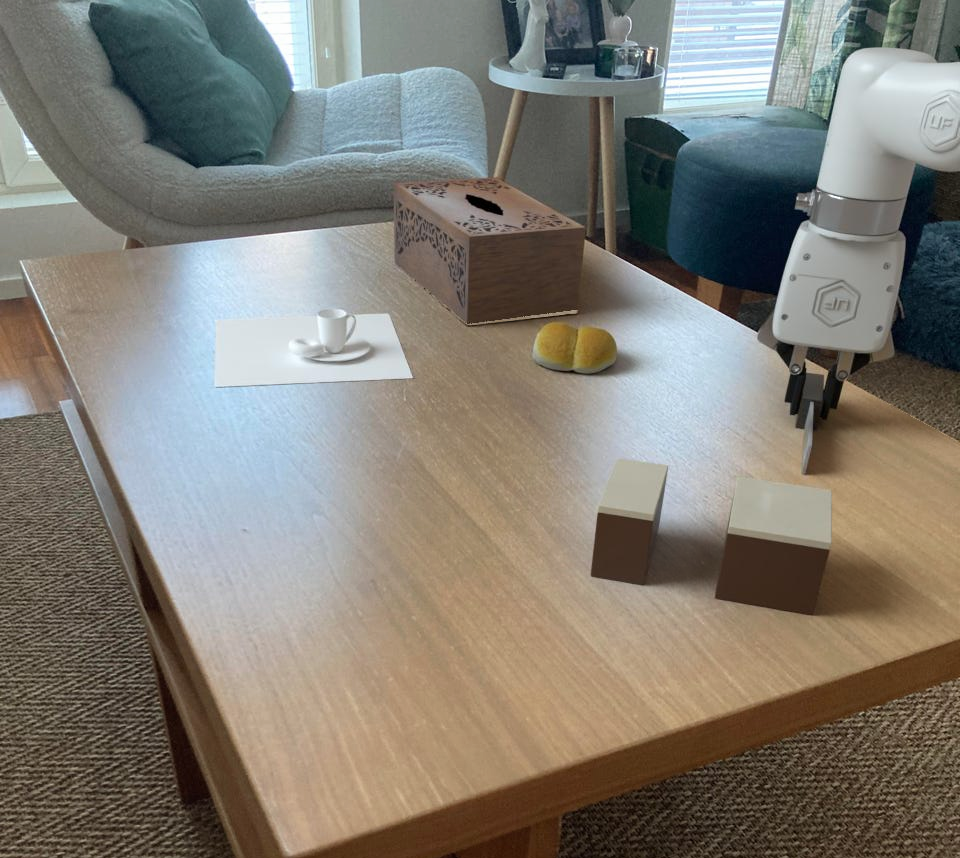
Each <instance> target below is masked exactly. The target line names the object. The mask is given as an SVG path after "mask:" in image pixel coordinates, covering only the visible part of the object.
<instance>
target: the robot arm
mask: <svg viewBox="0 0 960 858" xmlns="http://www.w3.org/2000/svg"><path fill="white" fill-rule="evenodd" d="M835 94H836V95H835V97H834V102H833V108H832V112H831V116H830V122H829V127H828V130H827V136H826V140H825V145H824V149H823V154H822V158H821V163H820V169H819V173H818V177H817V183H816V186H815V189H811V192H806V193H801V192H797V195H796V200H795V205H794V210H799V211H802V212H803V213H806V216H808V217H809V219H807V220H805V221H802V222H801V223H800V225H799V227H798V229H797V231H796V234H795V236H794V239H793V241H792V244H791V246H790V247H791V248H790V250H789V254H788V257H787V260H786V263H785V265H784V266H785V267H784V269H783V274H782V277H781V281H780V286H779V289H778V294H777V298H776V303H775V306H774V308H773V309H772V311H771V312H770V314H769V315H768V316H767V318H766V319H765V320H764V322H763V324H762V325H761V327H760V328H759V329H758V331H757V335H756V340H757V341H758V342H759V343H761V344H762V345H764V346H766V347H767V348H769V349H770V350H773V351H775V352H776V353H777V355H778V356H779V357H780V359H781V360H782V361H783V363H784V364H785V365H786V367H787V368H788V370H789V371H788V372H789V376H788V382H787V385H786V386H787V387H786V390H785V396H784V401H783V402H784V403H787V404H790V406H789V416H794V417H796V414H798V410H799V406H800V402H801V397H802V393H803V389H804V385H805V380H806V373H807V369H808V368H807V362H806V357H807V352H808V349H809V348H814V349H815V348H816V349H823V350H831V351H837V352H838V353H837V357H836V362H835V364H834V365H832V367H831V368H830V370H828V372H827V375H826V380H825V382H824V401H823V406H822V410H821V414H820V418H819V419H821V420H823V421H828V418H829V414H830V410H837V409H838V407H839V402H840V398H841V394H842V391H843V388H844V383H845V381H847V380H848V379H850V376H852V375H853V374H854V373H856V372H858V371H859V370H861V369H862V368H864V367H865V366H867V365H869V364H871V363H872V364H873V363H877V362H881V361H885V360H889V359H891V358H893V357H894V356H895V346H894V341H893V340H894V339H893V335H892V329H891V326H892V321H893V317H894V313H895V310H896V309H895V308H896V305H897V301H898V300H897V299H898V296H899V291H900V287H901V286H900V285H901V281H902V276H903V268H904V264H905V263H904V262H905V253H906V241H907V240H906V236H905V235H904V233H903V232H902V231H900V230H899V229H900V224H901V222H902V217H903V214H904V211H905V206H906V203H907V198H908V194H909V190H910V187H911V182H912V179H913V176H914V171H915V169H916V165H917V164H918V165H919V166H923V167H925V168H929V169H931V170H935V171H939V172H947V173H954V172H960V61H954V62H938V61H937V60H936V59H935V57H934V56H932V55H931V54H928V53H926V52H924V51H919V50H915V49H914V50H913V49H907V48H897V47H865V48H861V49H857V50H855V51H853V52H852V53H851V54H849V56H848V57H847V58H846V60H845V61H844V63H843V66H842V69H841V71H840V76H839V80H838V84H837V89H836V93H835Z"/></svg>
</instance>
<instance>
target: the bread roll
mask: <svg viewBox="0 0 960 858" xmlns="http://www.w3.org/2000/svg"><path fill="white" fill-rule="evenodd" d="M617 355H618V346H617V343H616V340H615V339H614V336H613V335H612V334H611V332H608V331H607V330H606V329H604V328H599V327H593V326H579V327H578V328H575V327H574V326H573V325H571V324H569V323H567V322H561V321H553V322H549V323H547V324H545V325H544V326H543V327H542V328H541V329H540V330H539V331H538V332H537V333H536V336H535V339H534V343H533V347H532V360H533V361H534V362H535V363H536V364H538V365H539V366H541V365H542V367H544V368H546V369H549V370H553V371H561V372H562V371H563V372H571V371H574V372H575V373H578V374H579V373H580V374H585V375H586V374H594V373H599V372H601V371H603V370H605V369H608V368H609V367H610V366H613V365H614V363H616V360H617Z"/></svg>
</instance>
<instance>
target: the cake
mask: <svg viewBox="0 0 960 858" xmlns="http://www.w3.org/2000/svg"><path fill="white" fill-rule="evenodd" d="M832 544H833V490H832V489H828V488H827V489H826V488H819V487H814V486H813V487H812V486H806V485H800V484H794V483H787V482H781V481H774V480H766V479H761V478H754V477H747V476H740V475H737V476H736V481H735V486H734V491H733V496H732V500H731V507H730V511H729V515H728V521H727V525H726V532H725V536H724V542H723V545H722V551H721V552H722V554H721V558H720V564H719V569H718V575H717V581H716V582H717V583H716V587H715V594H714V599H717V600H718V599H719V600H724V601H728V602H729V601H730V602H736V603H741V604H746V605H747V604H748V605H751V606H752V605H753V606H758V607H763V608H769V609H775V610H781V611H786V612H793V613H799V614H804V615H808V616H809V615H811V616H812V615H813V614H814V610H815V606H816V603H817V599H818V595H819V592H820V588H821V585H822V580H823V577H824V574H825V570H826V566H827V562H828V558H829V556H830V551H831V547H832Z"/></svg>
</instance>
